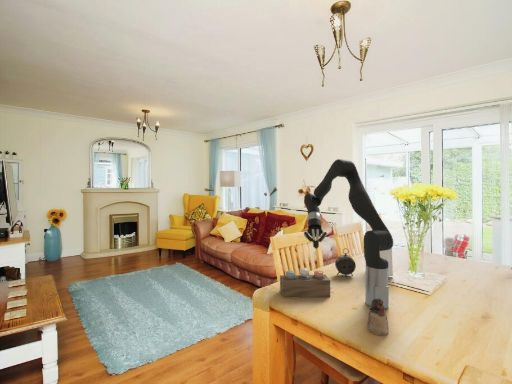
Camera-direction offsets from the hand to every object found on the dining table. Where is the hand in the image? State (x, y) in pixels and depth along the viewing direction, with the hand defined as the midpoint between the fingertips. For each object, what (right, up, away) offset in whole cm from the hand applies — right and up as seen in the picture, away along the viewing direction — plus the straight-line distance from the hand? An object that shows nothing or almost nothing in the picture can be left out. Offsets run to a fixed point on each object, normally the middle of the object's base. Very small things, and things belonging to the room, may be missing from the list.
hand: (316, 247), depth 144 cm
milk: (+42, -19, +18) cm, 49 cm away
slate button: (-15, -12, -12) cm, 23 cm away
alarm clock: (+20, -20, +14) cm, 31 cm away
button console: (-8, -20, -12) cm, 25 cm away
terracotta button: (-1, -12, -12) cm, 17 cm away
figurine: (+13, -21, -45) cm, 51 cm away
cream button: (-8, -10, -12) cm, 18 cm away
